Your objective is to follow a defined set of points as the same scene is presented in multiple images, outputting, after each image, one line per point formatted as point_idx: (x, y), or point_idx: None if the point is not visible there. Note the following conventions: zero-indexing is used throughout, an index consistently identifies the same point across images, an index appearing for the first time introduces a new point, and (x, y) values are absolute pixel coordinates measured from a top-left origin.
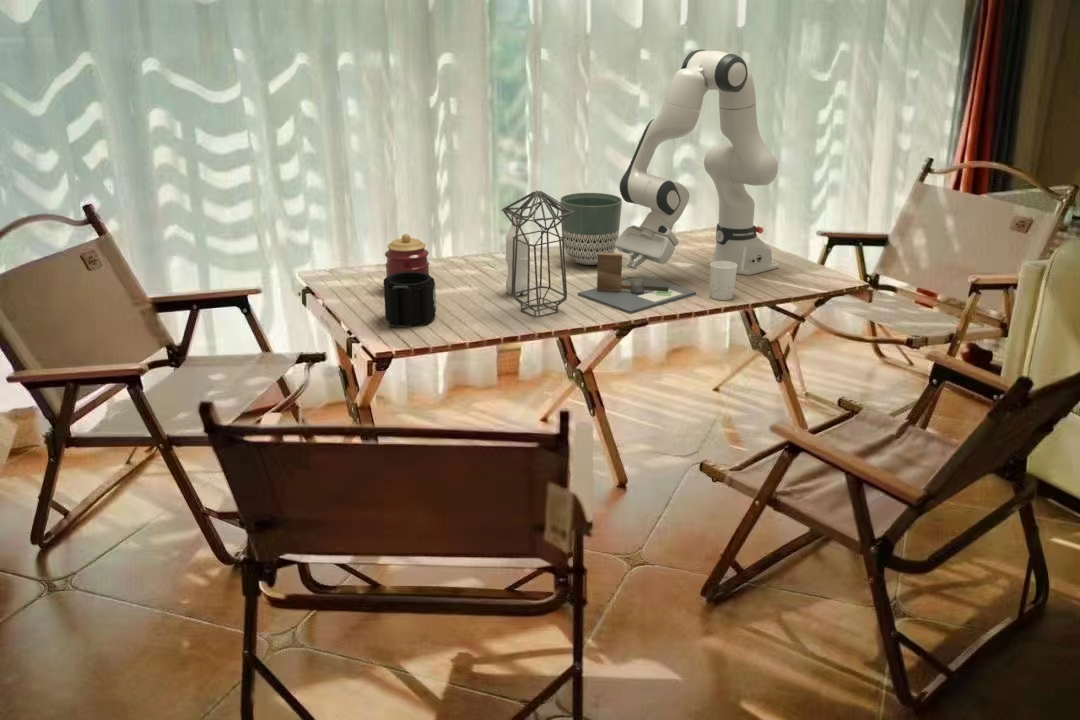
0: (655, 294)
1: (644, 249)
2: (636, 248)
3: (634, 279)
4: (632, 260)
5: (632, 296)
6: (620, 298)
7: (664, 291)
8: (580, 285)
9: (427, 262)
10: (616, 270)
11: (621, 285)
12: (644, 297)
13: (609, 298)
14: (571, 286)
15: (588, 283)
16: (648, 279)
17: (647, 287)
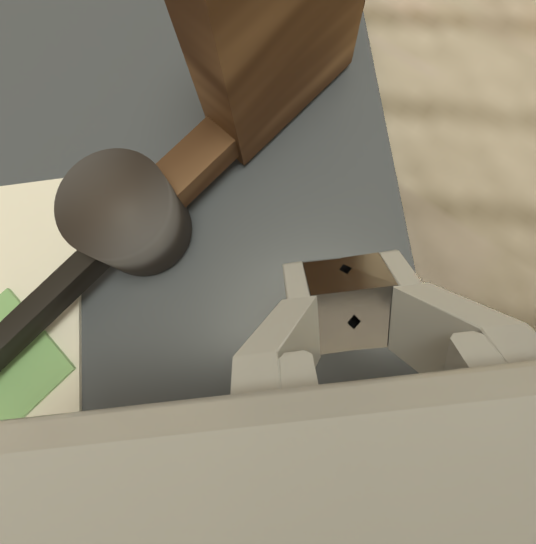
0: (24, 297)
1: (202, 496)
2: (495, 431)
3: (161, 205)
4: (417, 344)
5: None
6: (119, 76)
7: (15, 390)
8: (511, 61)
9: None
10: None
11: (202, 121)
12: (28, 196)
13: (159, 28)
14: (517, 10)
15: (528, 122)
16: None
17: (66, 266)
